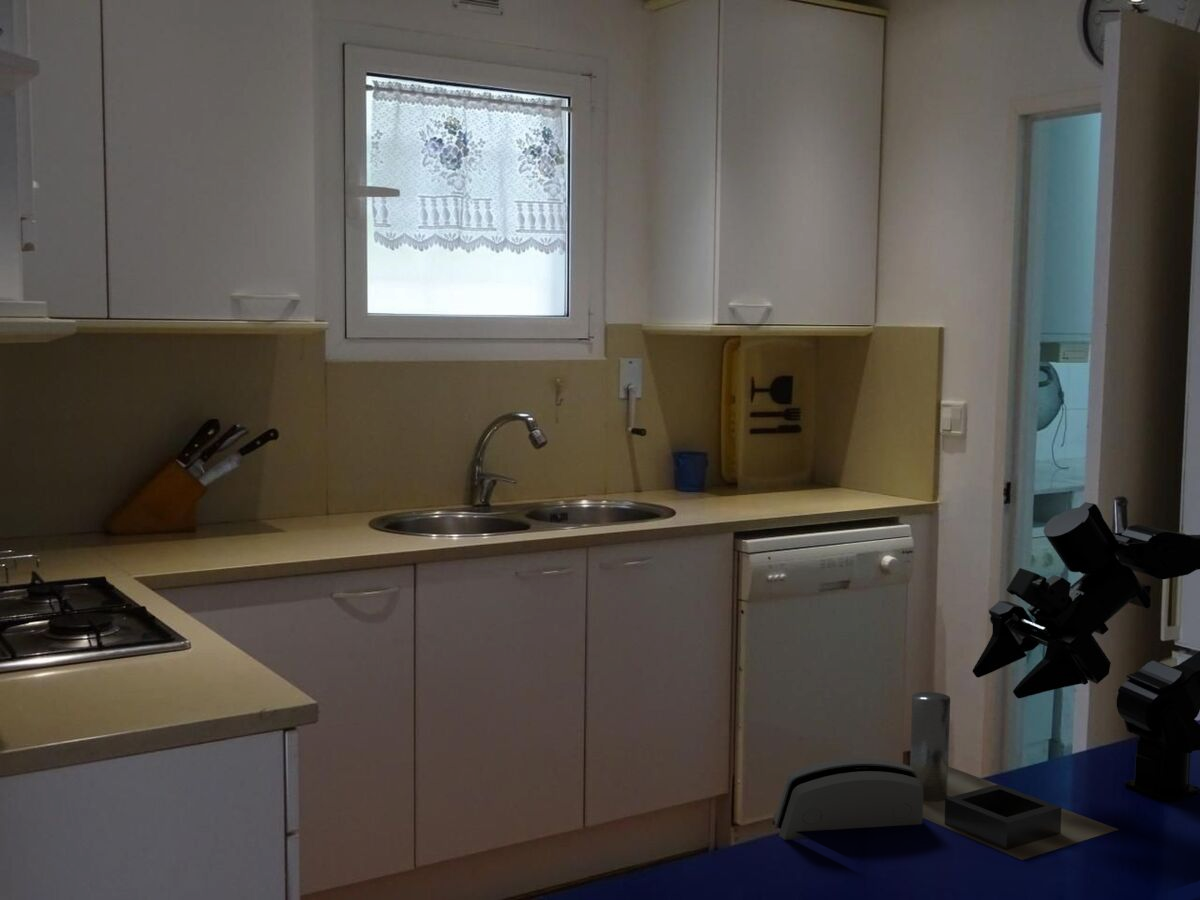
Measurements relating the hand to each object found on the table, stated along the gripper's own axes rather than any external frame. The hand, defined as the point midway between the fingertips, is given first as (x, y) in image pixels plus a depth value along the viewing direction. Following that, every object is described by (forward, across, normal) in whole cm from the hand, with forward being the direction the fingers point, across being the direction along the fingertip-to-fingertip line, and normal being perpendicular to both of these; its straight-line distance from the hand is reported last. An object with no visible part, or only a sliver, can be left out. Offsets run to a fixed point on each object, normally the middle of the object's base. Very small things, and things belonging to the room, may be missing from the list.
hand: (994, 684), depth 159 cm
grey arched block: (+25, +4, 0) cm, 25 cm away
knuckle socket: (+12, +10, +8) cm, 17 cm away
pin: (+14, -2, +7) cm, 16 cm away
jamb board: (+11, +3, +10) cm, 15 cm away
